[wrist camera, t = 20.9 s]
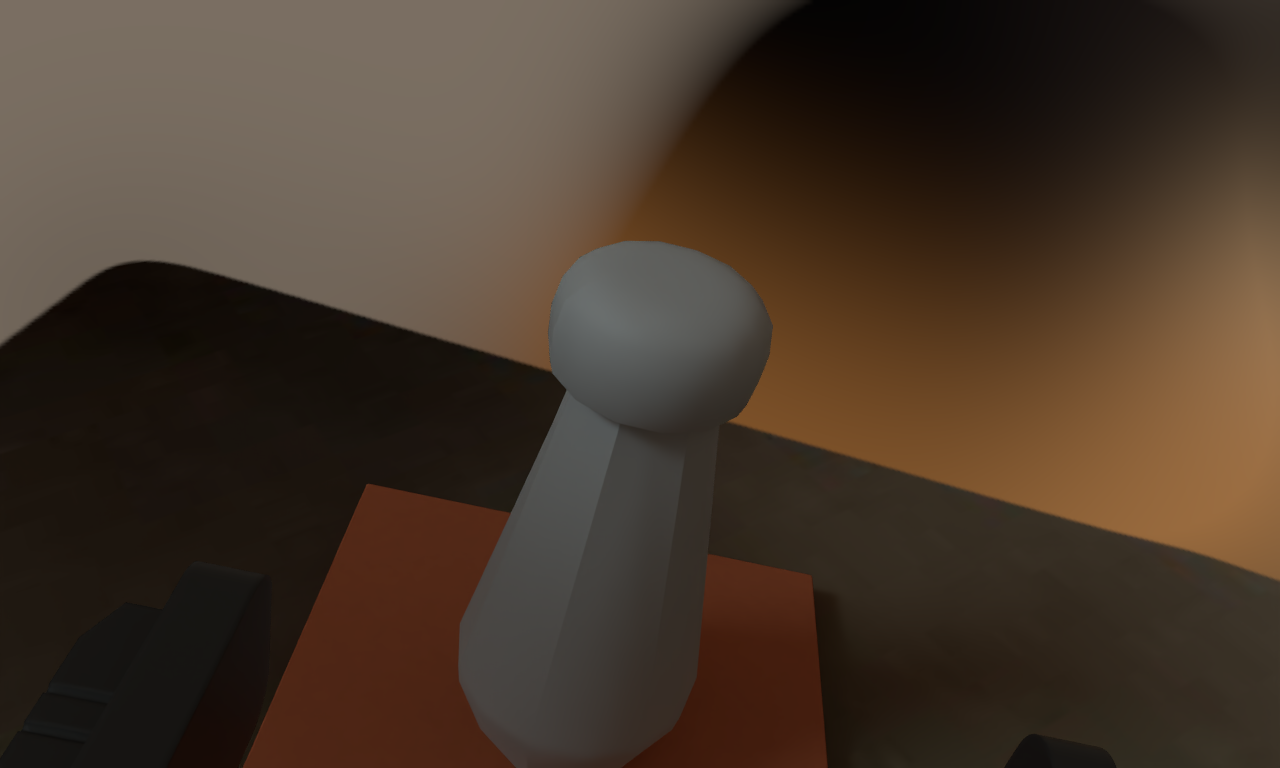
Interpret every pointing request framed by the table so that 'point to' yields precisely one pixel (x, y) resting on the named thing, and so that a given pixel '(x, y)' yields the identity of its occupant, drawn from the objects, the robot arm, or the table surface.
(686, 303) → the salt shaker
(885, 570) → the table surface
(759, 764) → the mat
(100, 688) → the robot arm
